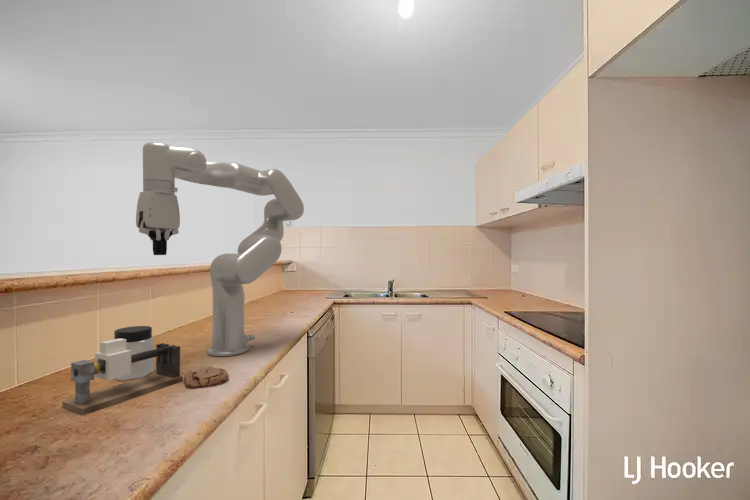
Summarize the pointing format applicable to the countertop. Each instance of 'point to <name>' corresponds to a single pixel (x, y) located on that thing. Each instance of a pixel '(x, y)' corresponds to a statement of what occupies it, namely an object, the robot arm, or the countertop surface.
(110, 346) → the sleeve
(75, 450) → the countertop surface
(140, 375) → the jar
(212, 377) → the cookie
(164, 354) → the comb rig
